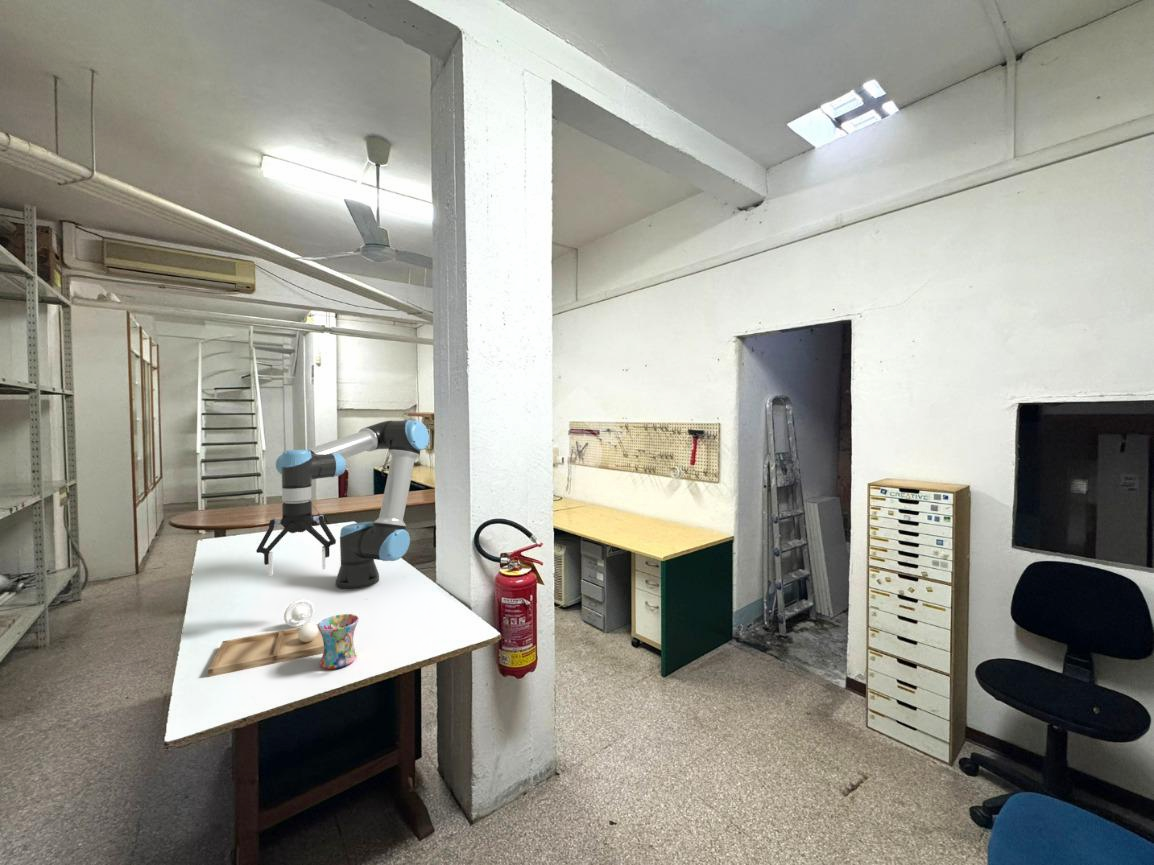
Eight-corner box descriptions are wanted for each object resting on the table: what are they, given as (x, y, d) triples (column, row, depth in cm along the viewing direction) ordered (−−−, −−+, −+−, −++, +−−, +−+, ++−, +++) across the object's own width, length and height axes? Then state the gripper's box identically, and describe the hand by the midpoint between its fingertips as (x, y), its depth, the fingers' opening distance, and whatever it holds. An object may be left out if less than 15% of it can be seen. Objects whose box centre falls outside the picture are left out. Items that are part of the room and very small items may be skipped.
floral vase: (312, 663, 116) (311, 622, 115) (349, 649, 123) (348, 610, 123) (332, 680, 108) (331, 636, 108) (370, 664, 115) (370, 623, 115)
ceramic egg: (319, 635, 129) (318, 618, 129) (318, 642, 125) (318, 625, 125) (298, 639, 127) (298, 621, 127) (297, 647, 123) (297, 628, 122)
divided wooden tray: (335, 627, 136) (335, 620, 136) (334, 651, 122) (334, 643, 122) (223, 648, 123) (222, 641, 123) (208, 677, 109) (207, 669, 109)
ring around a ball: (312, 620, 141) (312, 594, 141) (318, 626, 137) (317, 600, 137) (282, 628, 135) (282, 601, 135) (287, 634, 131) (286, 607, 131)
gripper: (343, 496, 145) (344, 562, 146) (248, 502, 134) (249, 574, 134) (343, 499, 138) (344, 568, 139) (243, 506, 127) (245, 582, 127)
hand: (298, 571), depth 136 cm, fingers open, 13 cm apart
